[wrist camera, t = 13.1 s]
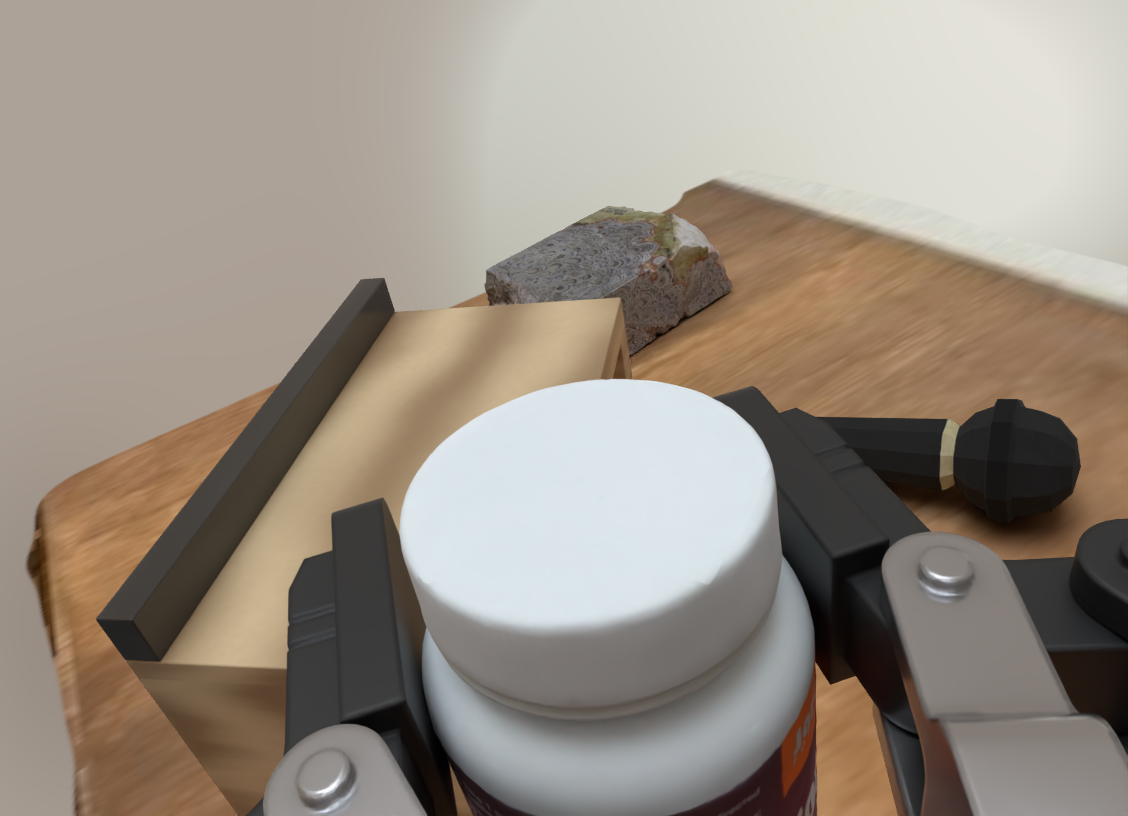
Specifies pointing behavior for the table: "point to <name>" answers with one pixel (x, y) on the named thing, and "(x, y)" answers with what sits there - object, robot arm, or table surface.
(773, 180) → the table surface
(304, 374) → the shelf
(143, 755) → the table surface
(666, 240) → the geological specimen
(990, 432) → the microphone
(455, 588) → the pill bottle
